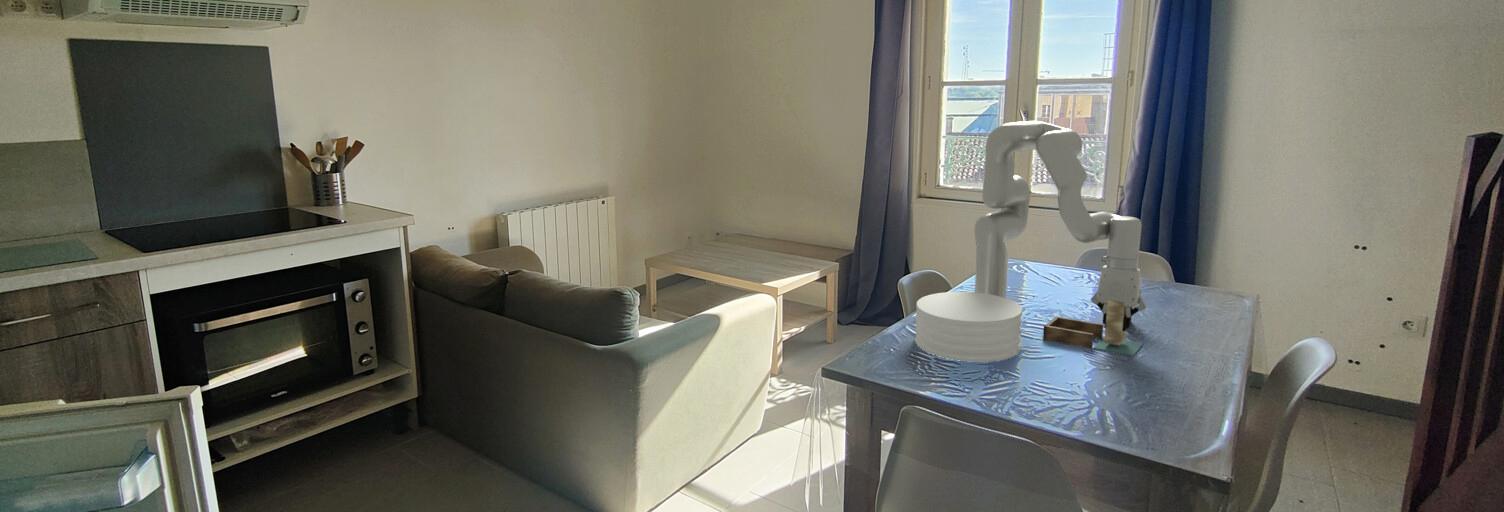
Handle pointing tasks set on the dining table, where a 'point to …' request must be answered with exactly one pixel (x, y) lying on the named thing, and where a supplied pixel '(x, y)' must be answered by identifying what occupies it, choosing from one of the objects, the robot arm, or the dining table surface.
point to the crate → (1072, 331)
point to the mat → (1119, 347)
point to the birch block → (1115, 323)
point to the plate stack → (968, 326)
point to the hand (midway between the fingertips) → (1116, 327)
